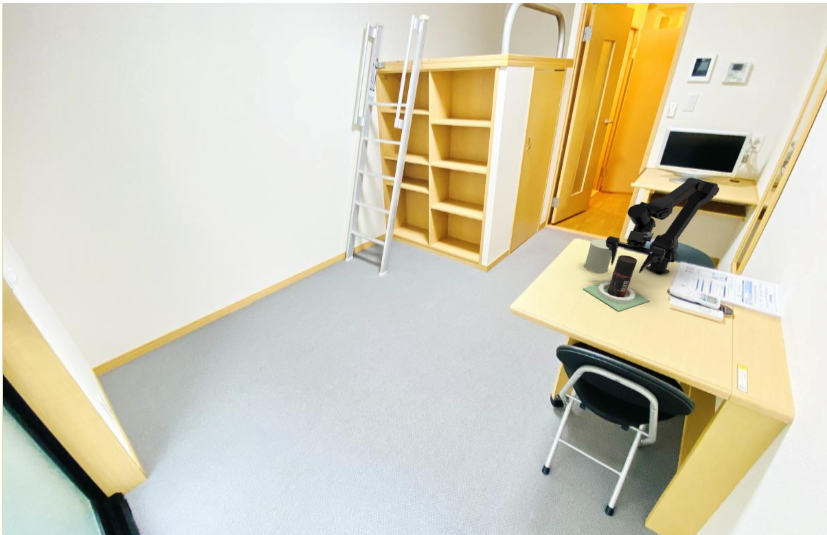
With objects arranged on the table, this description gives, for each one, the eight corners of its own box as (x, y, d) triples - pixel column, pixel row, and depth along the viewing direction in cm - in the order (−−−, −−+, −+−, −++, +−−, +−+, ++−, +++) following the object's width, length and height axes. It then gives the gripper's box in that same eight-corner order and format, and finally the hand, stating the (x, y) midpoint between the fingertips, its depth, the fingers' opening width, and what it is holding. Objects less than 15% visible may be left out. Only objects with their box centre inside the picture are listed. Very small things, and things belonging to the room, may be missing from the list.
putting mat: (612, 280, 139) (613, 276, 138) (649, 301, 126) (651, 296, 125) (582, 289, 134) (583, 284, 133) (618, 311, 121) (619, 307, 120)
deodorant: (617, 299, 127) (629, 264, 119) (603, 291, 131) (614, 257, 124) (628, 296, 129) (641, 260, 121) (614, 288, 133) (625, 254, 126)
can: (611, 273, 144) (619, 247, 139) (589, 273, 145) (596, 247, 139) (601, 262, 152) (609, 238, 147) (580, 262, 153) (587, 238, 147)
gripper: (614, 215, 127) (597, 252, 125) (674, 228, 116) (656, 269, 114) (614, 228, 135) (598, 263, 134) (670, 241, 125) (653, 279, 123)
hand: (625, 268), depth 126 cm, fingers open, 9 cm apart
